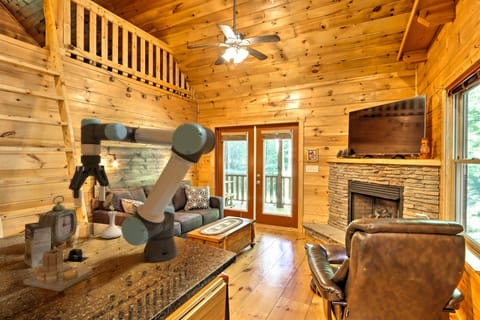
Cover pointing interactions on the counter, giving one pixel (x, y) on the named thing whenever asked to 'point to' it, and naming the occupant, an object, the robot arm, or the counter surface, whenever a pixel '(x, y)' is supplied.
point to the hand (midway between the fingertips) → (90, 203)
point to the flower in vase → (111, 222)
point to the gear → (52, 265)
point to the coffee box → (36, 242)
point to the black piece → (75, 256)
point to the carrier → (60, 279)
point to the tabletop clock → (60, 222)
